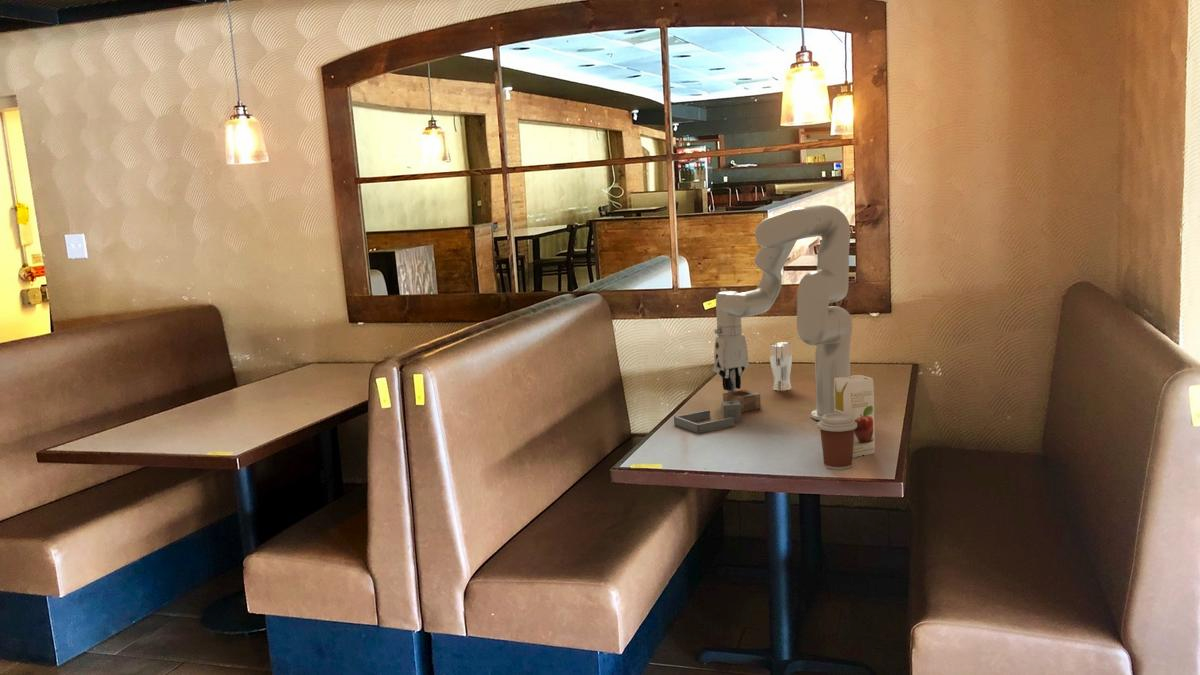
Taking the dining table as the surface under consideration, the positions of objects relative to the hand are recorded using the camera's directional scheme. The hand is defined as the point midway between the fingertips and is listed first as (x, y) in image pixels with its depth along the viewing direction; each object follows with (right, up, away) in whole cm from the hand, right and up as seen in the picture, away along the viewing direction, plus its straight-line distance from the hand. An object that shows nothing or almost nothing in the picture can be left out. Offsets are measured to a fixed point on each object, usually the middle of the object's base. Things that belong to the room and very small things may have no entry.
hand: (731, 388), depth 286 cm
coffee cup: (+15, -15, -70) cm, 73 cm away
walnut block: (+2, -6, -9) cm, 10 cm away
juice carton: (+22, -13, -61) cm, 66 cm away
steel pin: (0, -4, +1) cm, 4 cm away
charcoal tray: (-12, -9, -26) cm, 30 cm away
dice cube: (-3, -8, -21) cm, 23 cm away
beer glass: (+18, -1, +13) cm, 23 cm away
